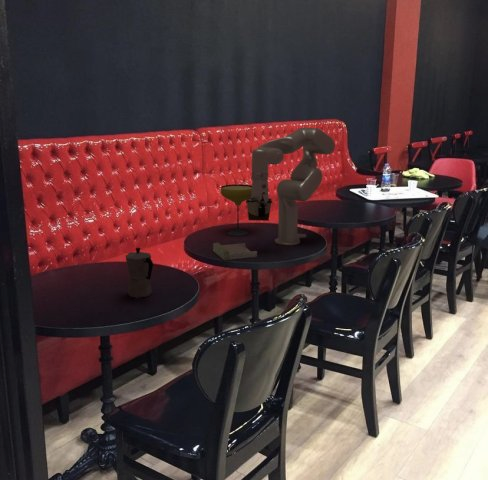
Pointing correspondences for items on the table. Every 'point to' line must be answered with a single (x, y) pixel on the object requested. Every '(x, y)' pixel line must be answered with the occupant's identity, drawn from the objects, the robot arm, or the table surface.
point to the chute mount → (233, 251)
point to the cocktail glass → (237, 200)
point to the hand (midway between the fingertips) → (258, 214)
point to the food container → (253, 210)
